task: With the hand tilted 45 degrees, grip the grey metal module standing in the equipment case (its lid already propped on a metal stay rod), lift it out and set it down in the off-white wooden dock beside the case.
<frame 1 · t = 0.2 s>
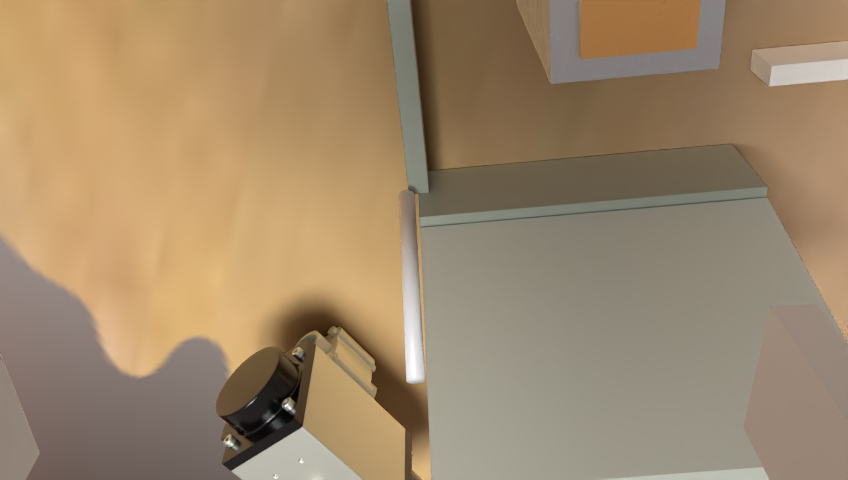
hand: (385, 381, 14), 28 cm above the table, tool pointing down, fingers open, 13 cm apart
pneumatic valve: (331, 355, 49), on the table
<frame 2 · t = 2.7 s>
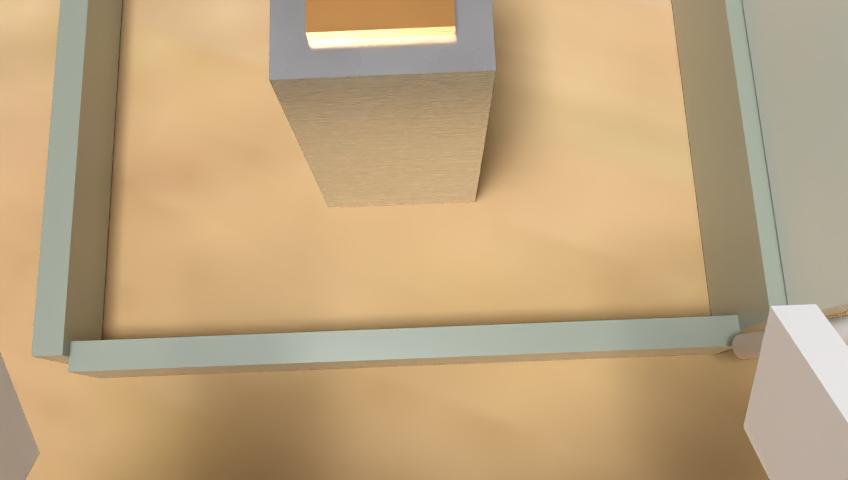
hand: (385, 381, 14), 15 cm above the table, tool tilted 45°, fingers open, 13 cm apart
module: (399, 130, 31), on the table
case: (399, 141, 31), on the table
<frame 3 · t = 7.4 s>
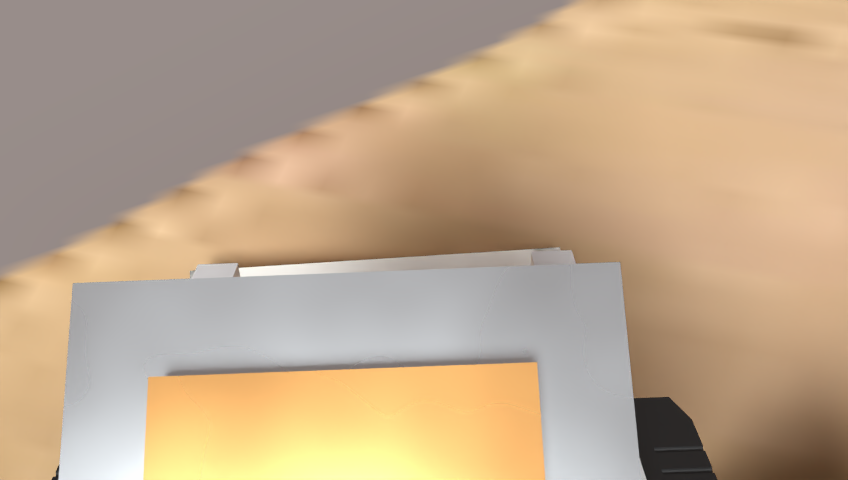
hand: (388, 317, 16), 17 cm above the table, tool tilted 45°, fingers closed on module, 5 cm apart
dock: (386, 409, 31), on the table
when the fingers open (5 cm above the table, at t = 9.7 s): module drops 1 cm, on the table.
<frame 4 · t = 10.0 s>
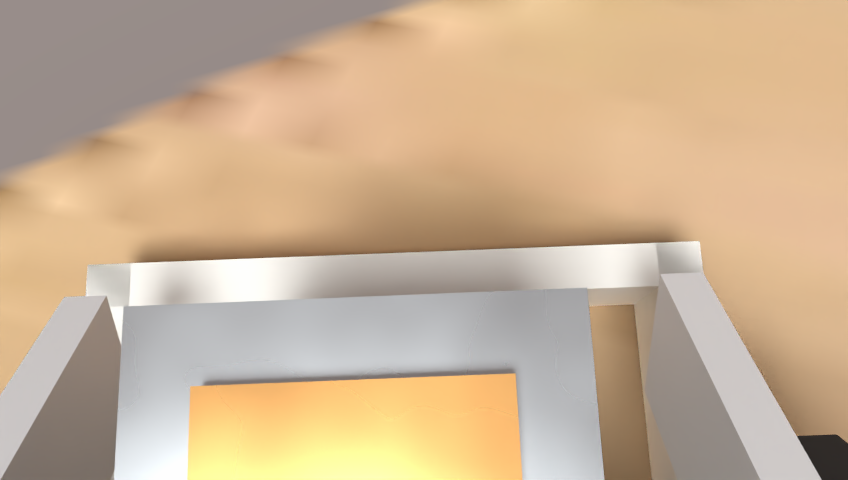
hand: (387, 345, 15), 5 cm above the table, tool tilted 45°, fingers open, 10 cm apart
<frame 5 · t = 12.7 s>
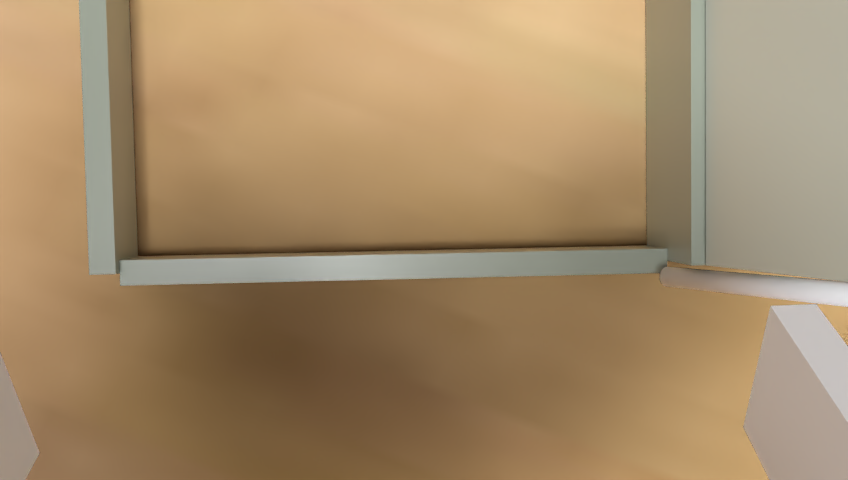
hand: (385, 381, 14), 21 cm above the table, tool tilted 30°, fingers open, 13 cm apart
case: (393, 75, 34), on the table
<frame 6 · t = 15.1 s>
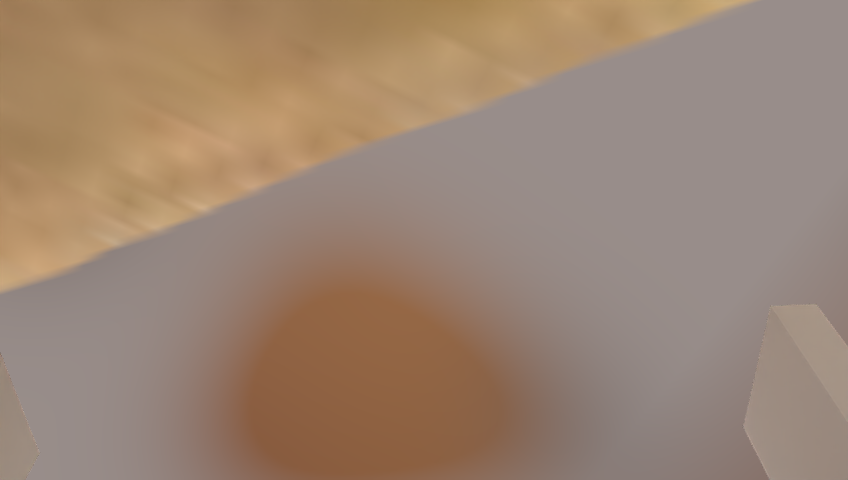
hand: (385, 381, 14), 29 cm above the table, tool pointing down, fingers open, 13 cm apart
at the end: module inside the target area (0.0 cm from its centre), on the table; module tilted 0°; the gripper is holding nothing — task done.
